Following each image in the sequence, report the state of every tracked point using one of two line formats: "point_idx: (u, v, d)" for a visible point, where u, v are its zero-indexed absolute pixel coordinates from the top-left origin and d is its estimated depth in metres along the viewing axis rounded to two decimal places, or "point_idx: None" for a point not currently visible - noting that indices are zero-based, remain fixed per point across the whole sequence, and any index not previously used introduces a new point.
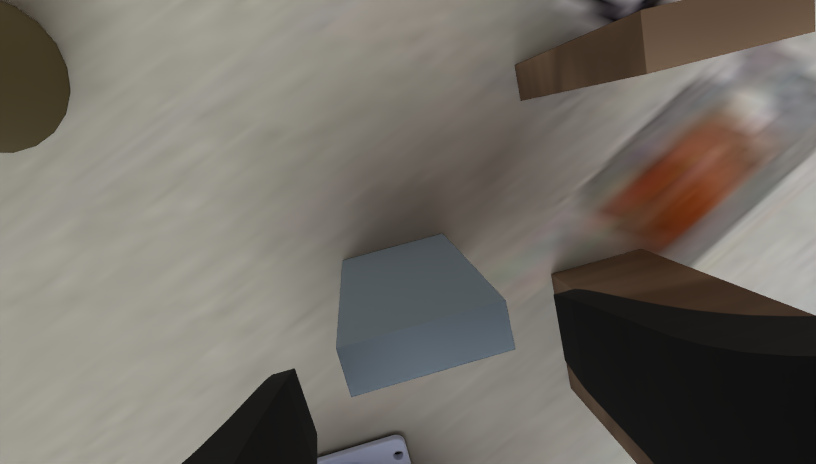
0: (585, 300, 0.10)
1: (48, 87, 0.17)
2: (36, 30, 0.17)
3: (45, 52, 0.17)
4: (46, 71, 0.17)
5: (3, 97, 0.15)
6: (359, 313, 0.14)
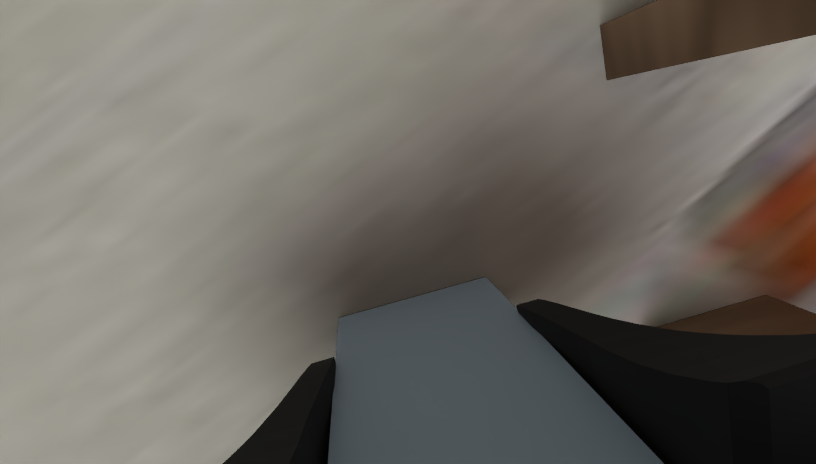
0: (543, 312, 0.10)
1: None
2: None
3: None
4: None
5: None
6: None
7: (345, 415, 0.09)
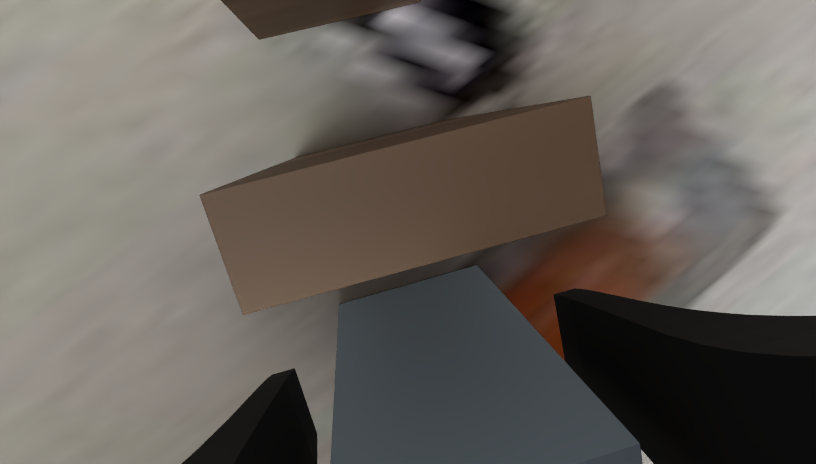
0: (585, 300, 0.10)
1: None
2: None
3: None
4: None
5: None
6: (366, 436, 0.08)
7: (347, 389, 0.10)
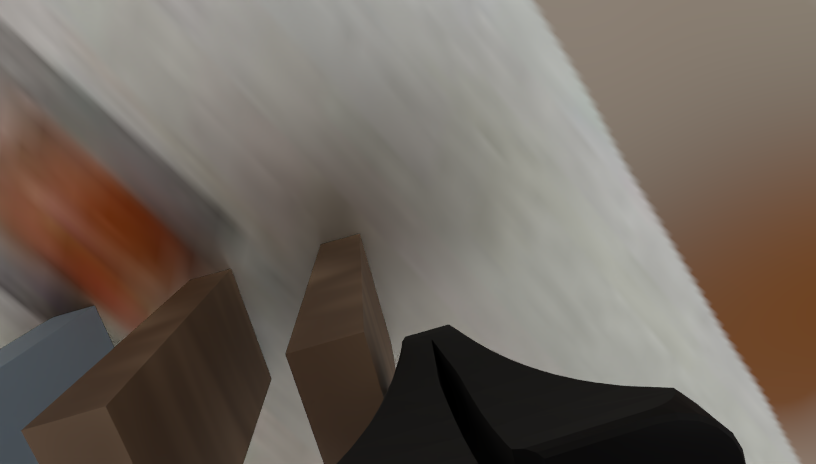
0: (440, 342, 0.10)
1: None
2: None
3: None
4: None
5: None
6: None
7: None
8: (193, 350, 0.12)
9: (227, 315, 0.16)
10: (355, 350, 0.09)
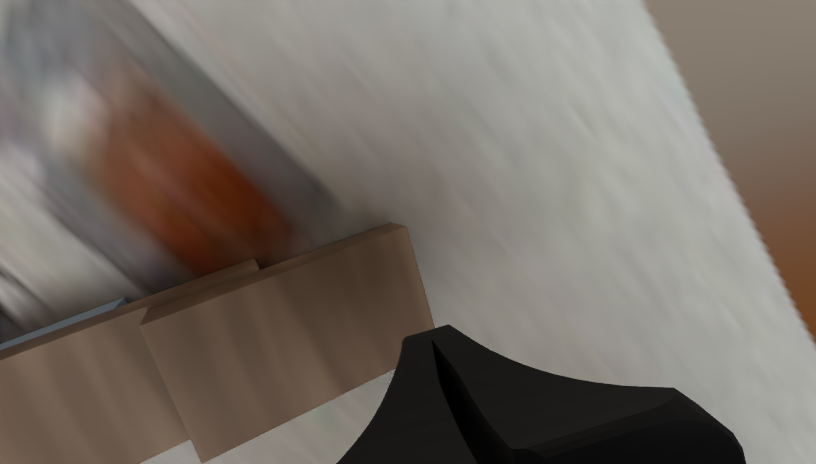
0: (440, 342, 0.10)
1: None
2: None
3: None
4: None
5: None
6: None
7: None
8: (110, 348, 0.14)
9: None
10: (145, 333, 0.13)
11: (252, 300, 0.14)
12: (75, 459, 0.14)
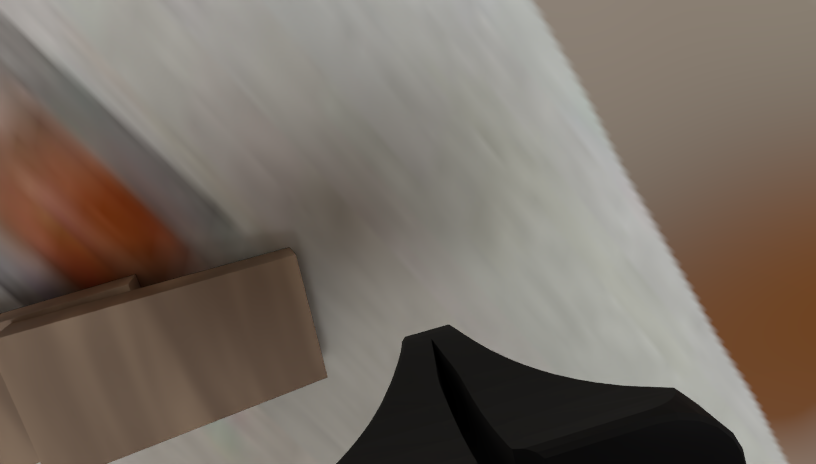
0: (440, 342, 0.10)
1: None
2: None
3: None
4: None
5: None
6: None
7: None
8: None
9: None
10: None
11: (117, 321, 0.14)
12: None
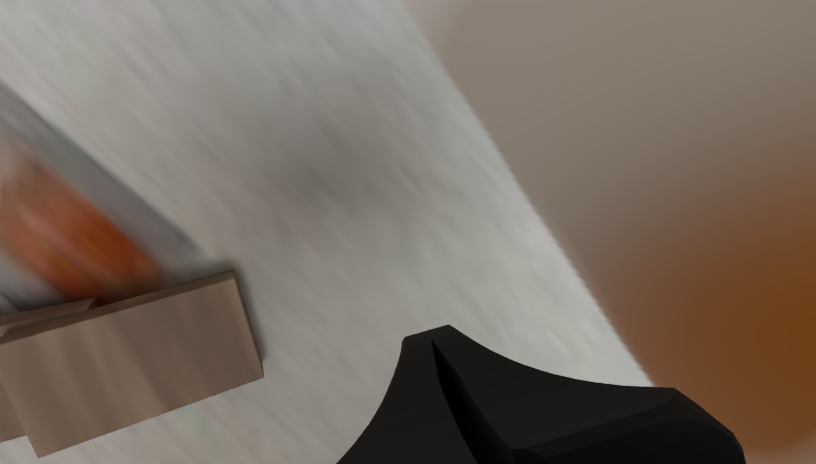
0: (440, 342, 0.10)
1: None
2: None
3: None
4: None
5: None
6: None
7: None
8: None
9: None
10: None
11: (87, 333, 0.18)
12: None
